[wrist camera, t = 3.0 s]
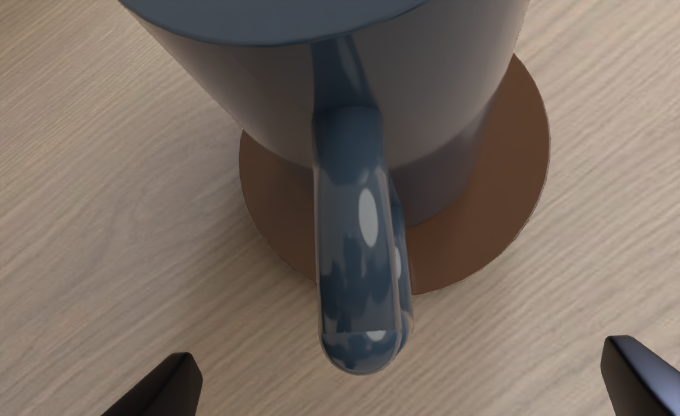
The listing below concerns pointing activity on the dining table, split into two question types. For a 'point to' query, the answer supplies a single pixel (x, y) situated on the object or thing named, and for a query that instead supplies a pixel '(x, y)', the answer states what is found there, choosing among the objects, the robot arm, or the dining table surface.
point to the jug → (371, 143)
